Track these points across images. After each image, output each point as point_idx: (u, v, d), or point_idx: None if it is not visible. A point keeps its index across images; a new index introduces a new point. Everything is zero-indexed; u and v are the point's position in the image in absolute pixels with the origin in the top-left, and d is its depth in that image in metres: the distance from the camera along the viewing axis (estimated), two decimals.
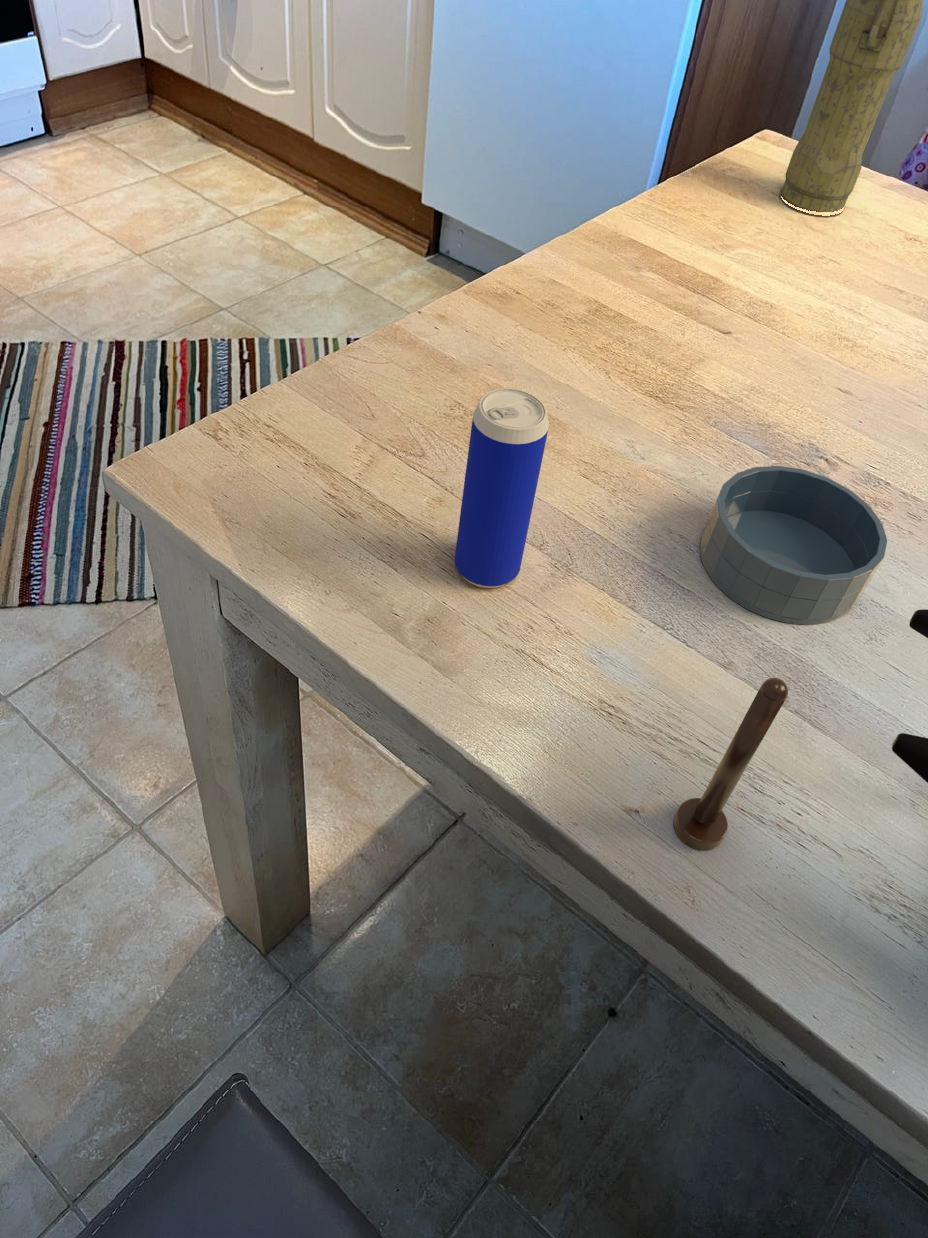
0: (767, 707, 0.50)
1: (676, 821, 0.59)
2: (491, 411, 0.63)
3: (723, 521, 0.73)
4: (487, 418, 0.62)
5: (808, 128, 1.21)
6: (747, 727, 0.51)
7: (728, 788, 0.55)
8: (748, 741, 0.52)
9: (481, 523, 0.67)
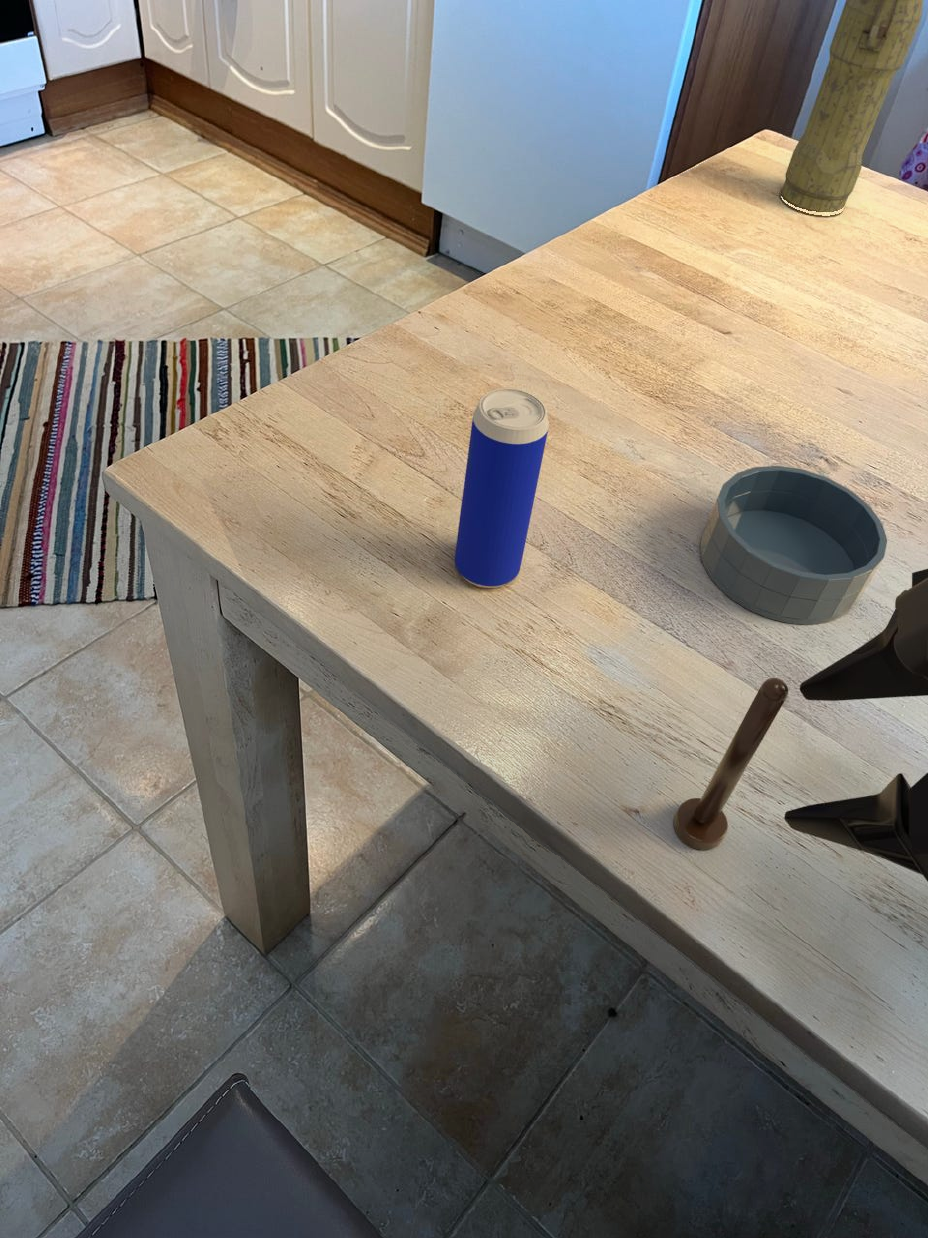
0: (767, 707, 0.50)
1: (676, 821, 0.59)
2: (491, 411, 0.63)
3: (723, 521, 0.73)
4: (487, 418, 0.62)
5: (808, 128, 1.21)
6: (747, 727, 0.51)
7: (728, 788, 0.55)
8: (748, 741, 0.52)
9: (481, 523, 0.67)
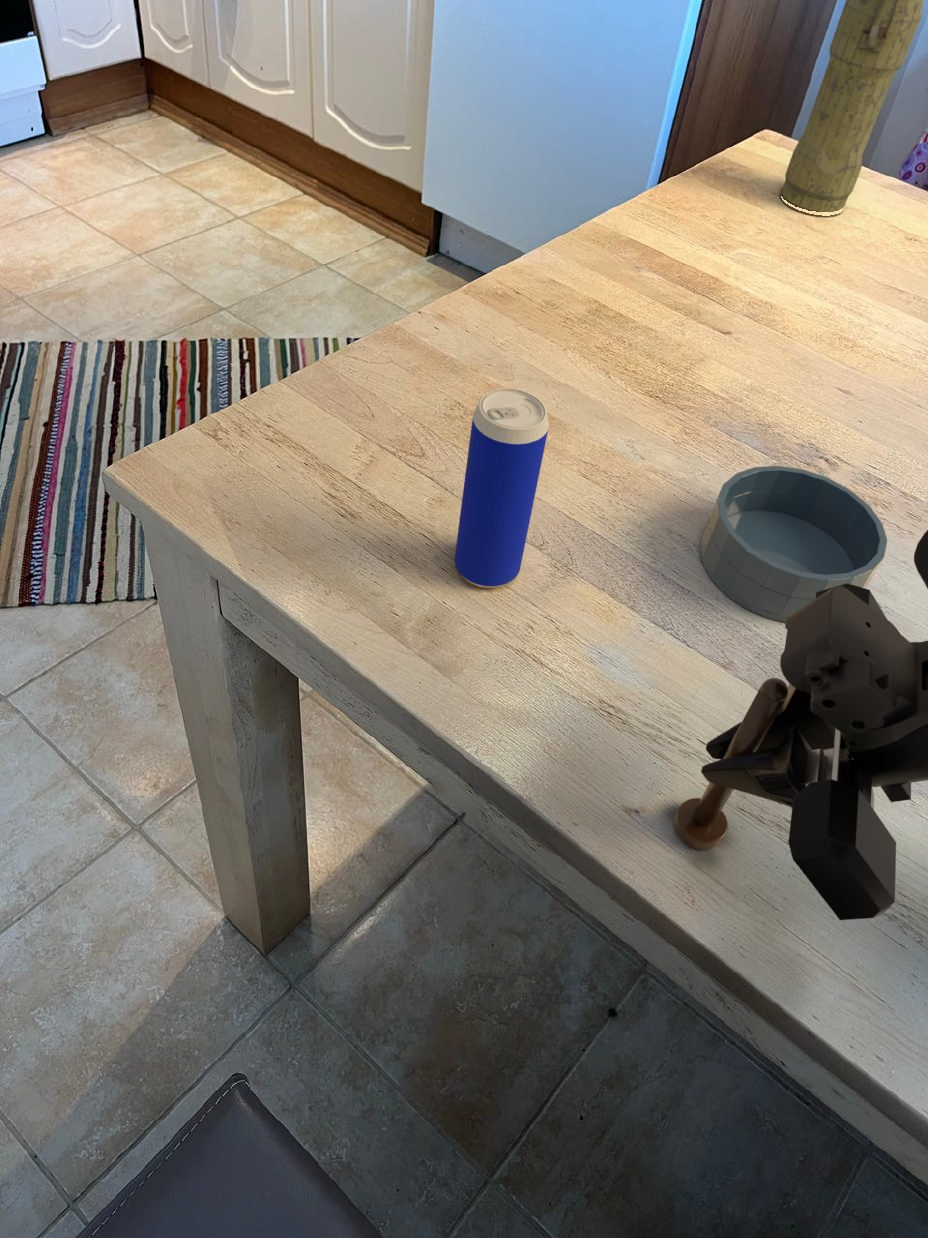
0: (767, 707, 0.50)
1: (676, 821, 0.59)
2: (491, 411, 0.63)
3: (723, 521, 0.73)
4: (487, 418, 0.62)
5: (808, 128, 1.21)
6: (747, 727, 0.51)
7: (728, 788, 0.55)
8: (748, 741, 0.52)
9: (481, 523, 0.67)
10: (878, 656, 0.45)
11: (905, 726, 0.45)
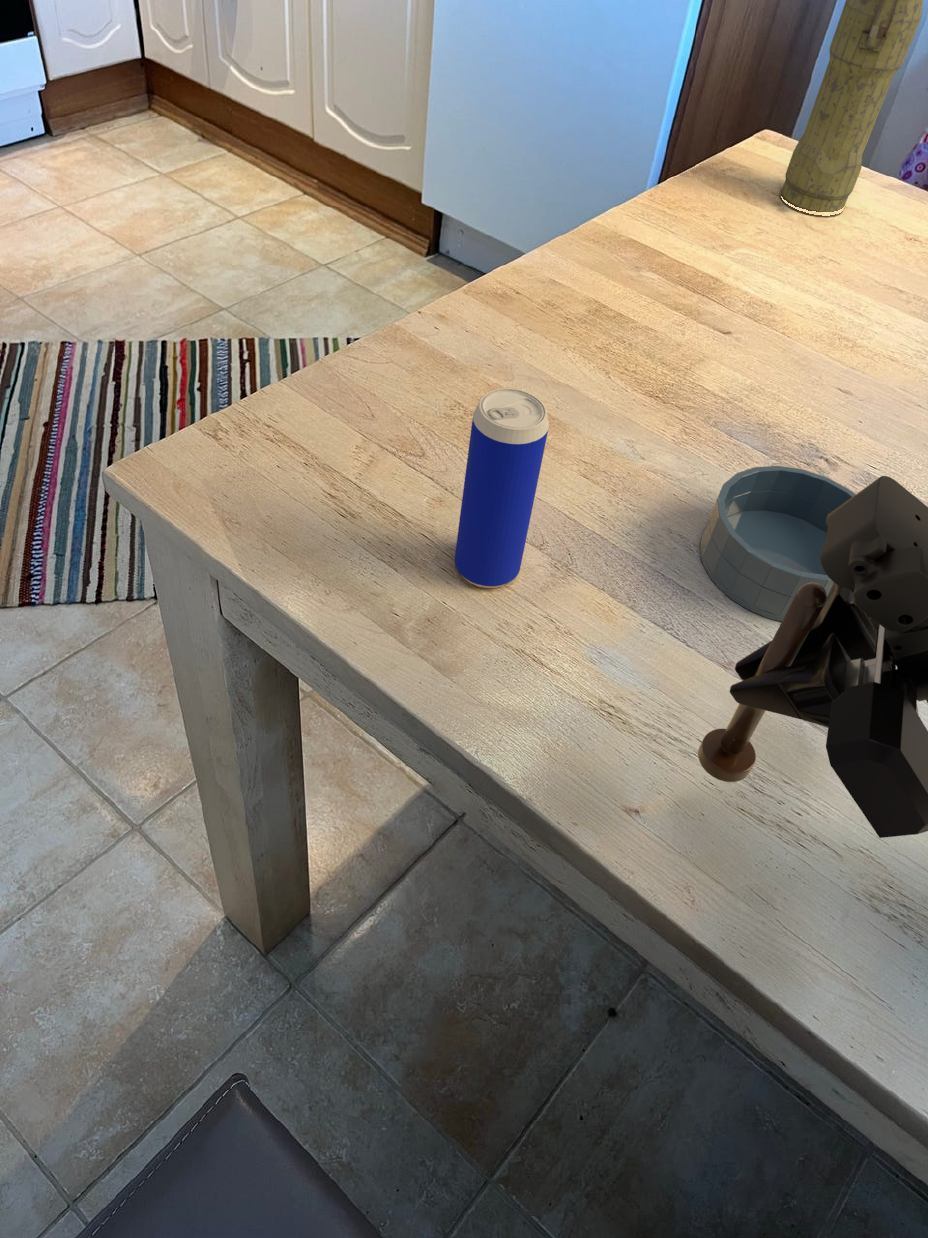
0: (803, 614, 0.46)
1: (701, 751, 0.56)
2: (491, 411, 0.63)
3: (723, 521, 0.73)
4: (487, 418, 0.62)
5: (808, 128, 1.21)
6: (780, 639, 0.48)
7: (758, 711, 0.52)
8: (781, 655, 0.48)
9: (481, 523, 0.67)
10: None
11: None
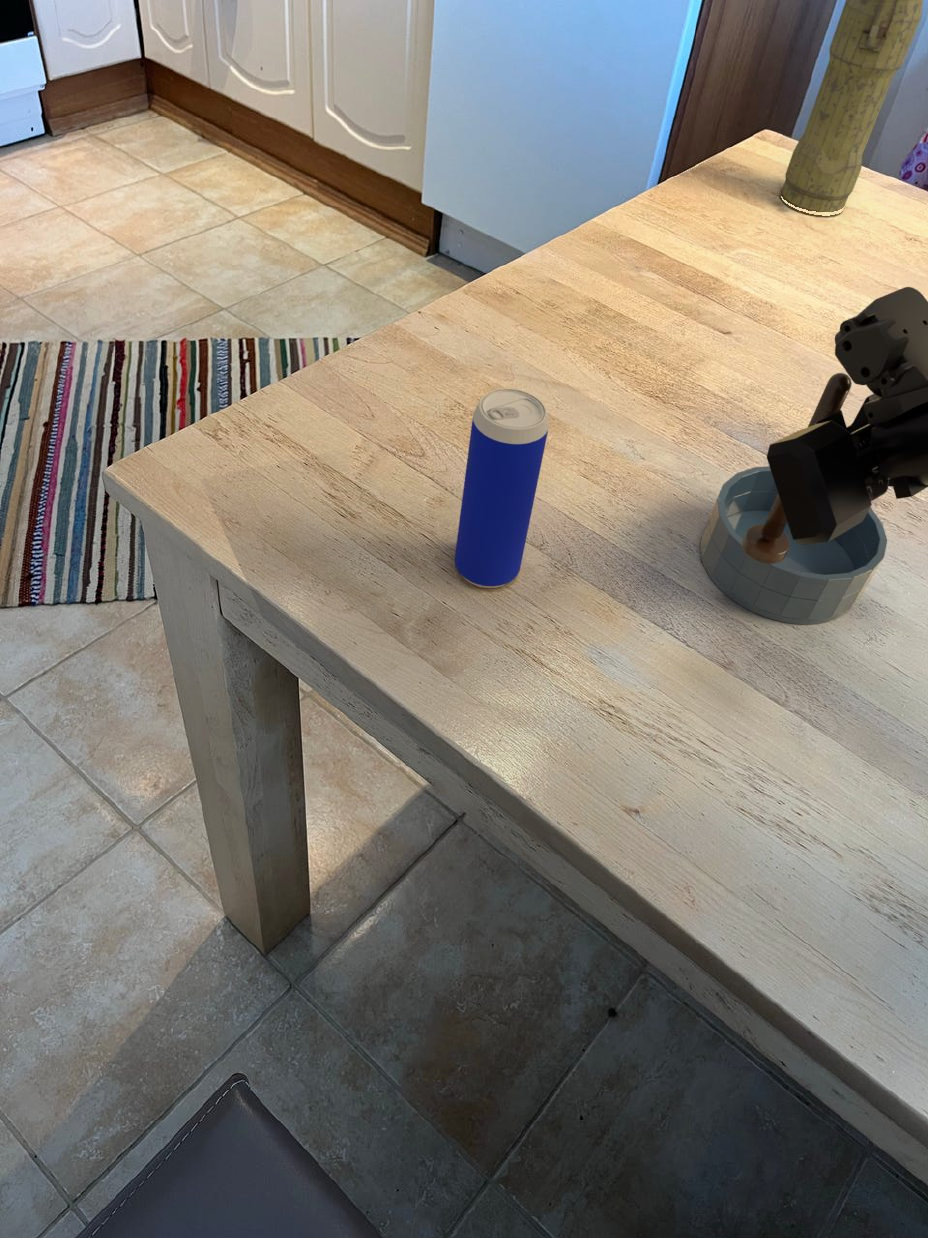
0: (828, 395, 0.59)
1: (746, 532, 0.69)
2: (491, 411, 0.63)
3: (723, 521, 0.73)
4: (487, 418, 0.62)
5: (808, 128, 1.21)
6: (811, 420, 0.61)
7: None
8: None
9: (481, 523, 0.67)
10: (916, 340, 0.53)
11: (912, 398, 0.53)
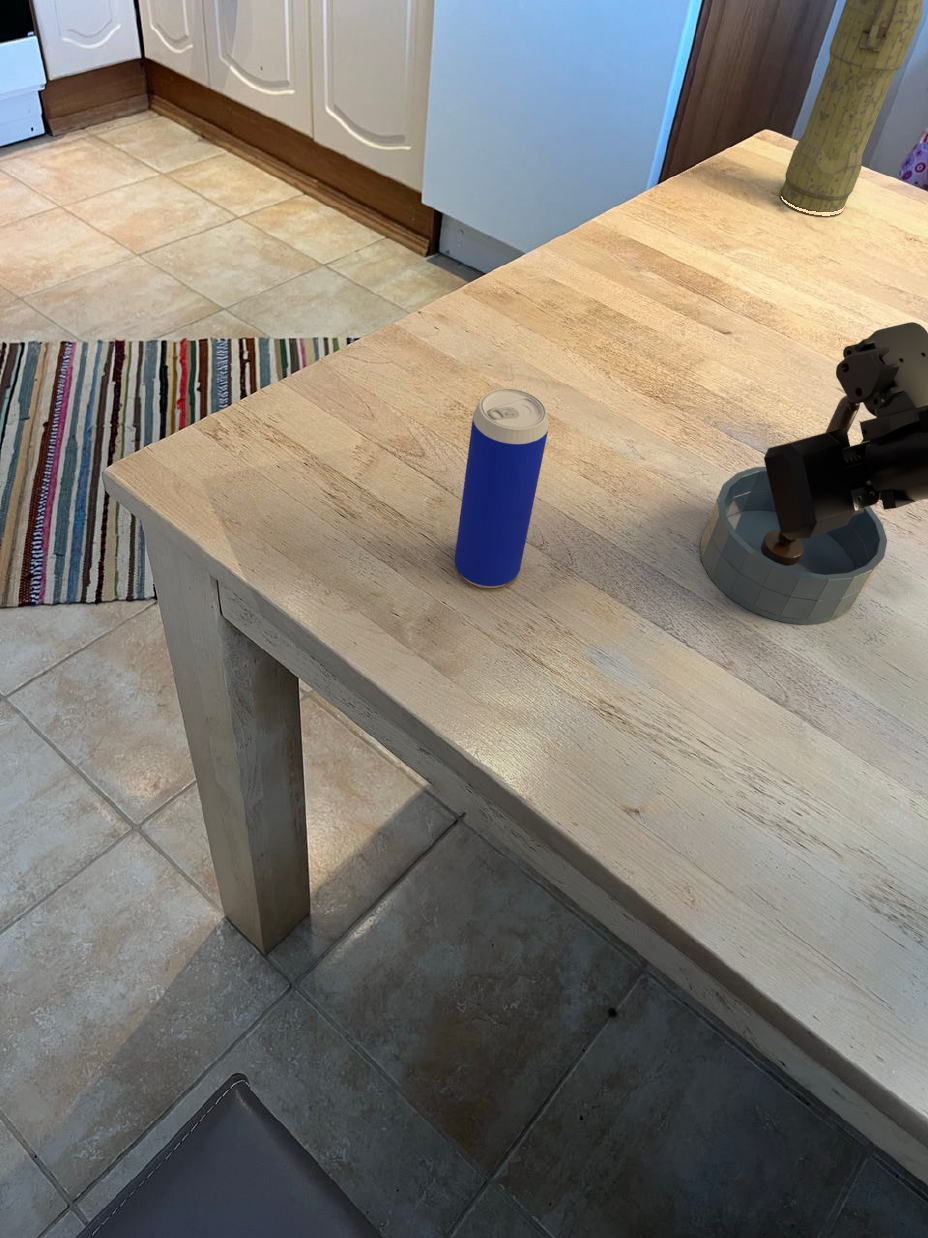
0: (837, 413, 0.66)
1: (765, 536, 0.76)
2: (491, 411, 0.63)
3: (723, 521, 0.73)
4: (487, 418, 0.62)
5: (808, 128, 1.21)
6: None
7: None
8: None
9: (481, 523, 0.67)
10: (911, 368, 0.60)
11: (899, 418, 0.59)
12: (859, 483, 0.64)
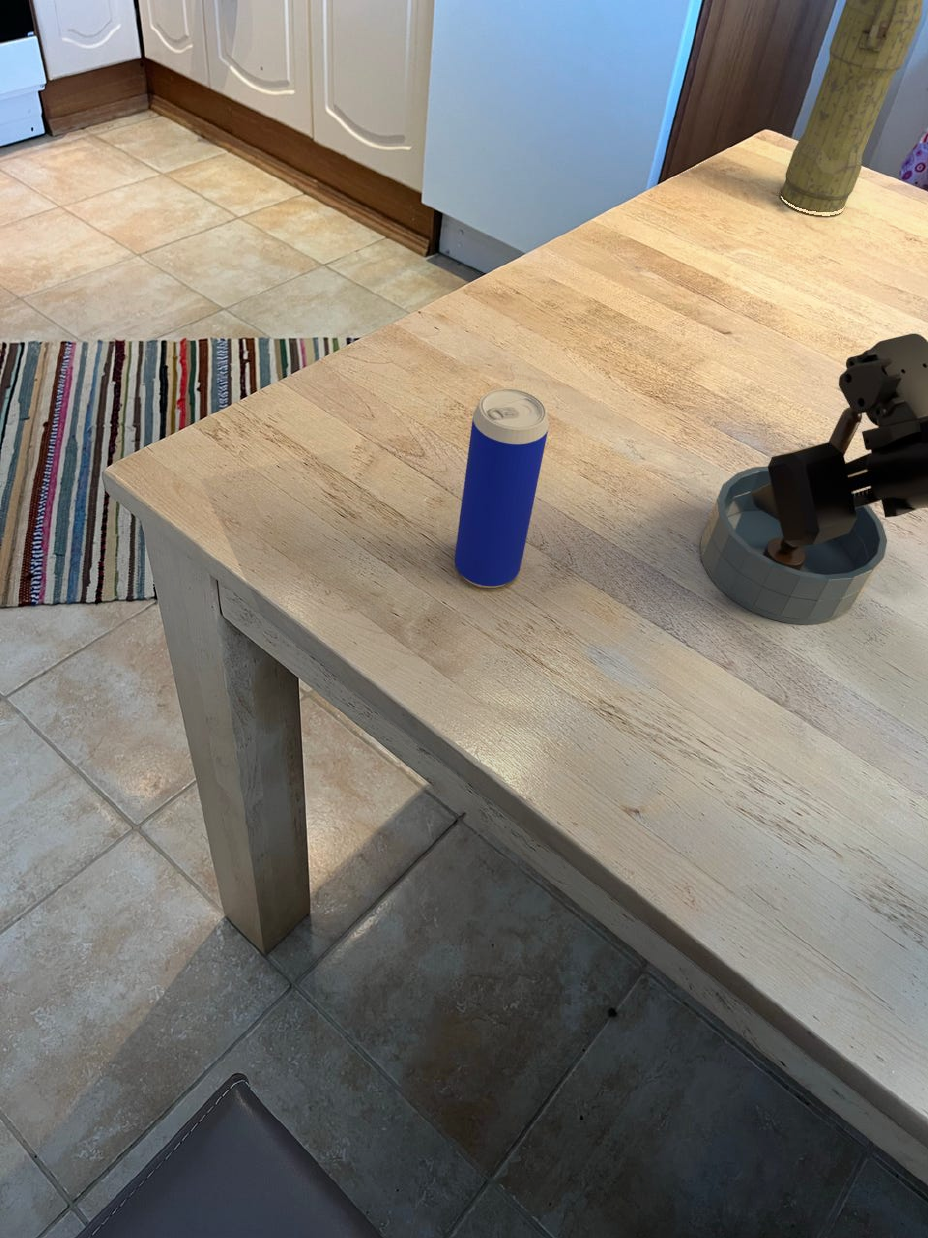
0: (840, 425, 0.67)
1: (768, 543, 0.77)
2: (491, 411, 0.63)
3: (723, 521, 0.73)
4: (487, 418, 0.62)
5: (808, 128, 1.21)
6: None
7: None
8: None
9: (481, 523, 0.67)
10: (912, 379, 0.61)
11: (900, 428, 0.60)
12: None
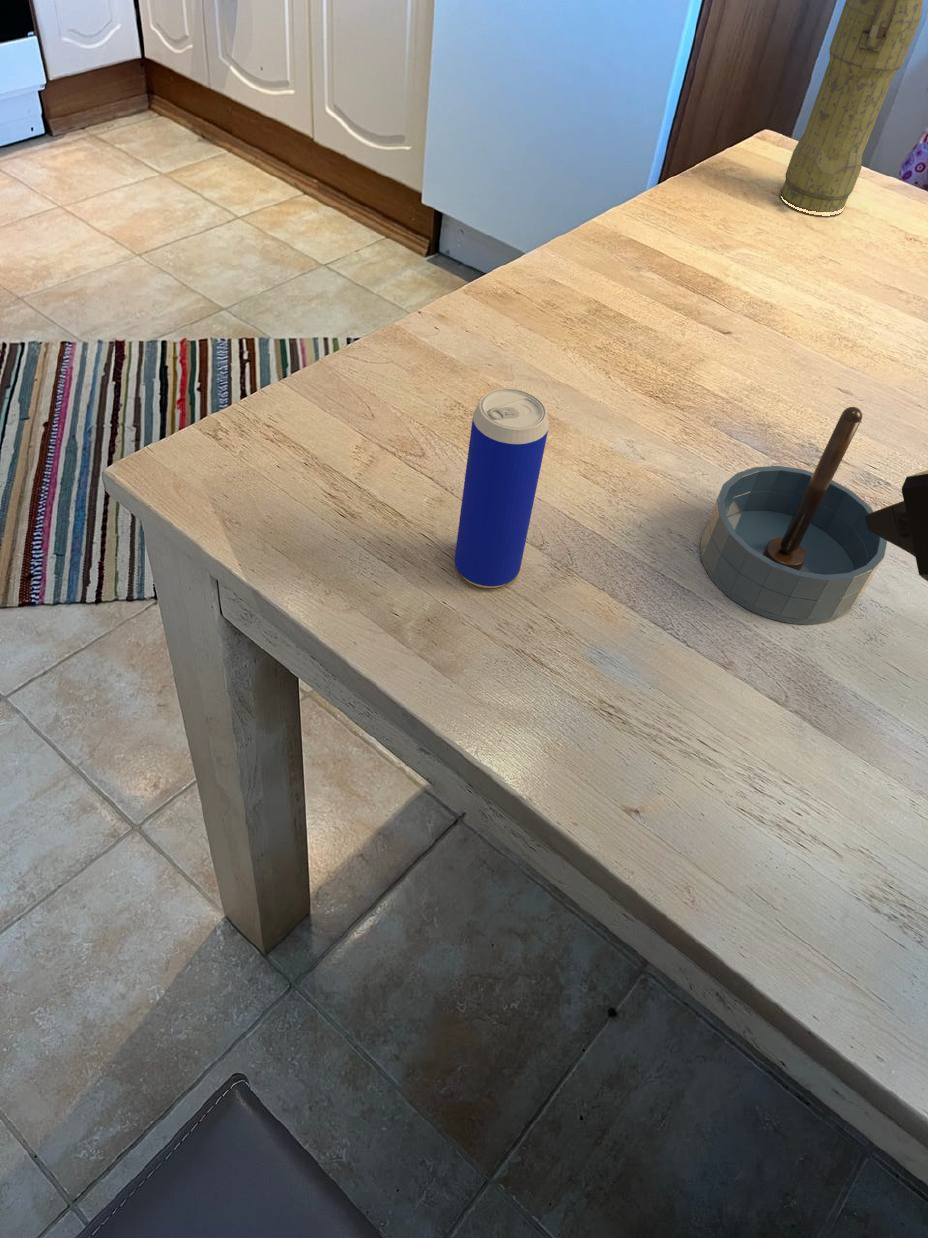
0: (840, 425, 0.67)
1: (768, 543, 0.77)
2: (491, 411, 0.63)
3: (723, 521, 0.73)
4: (487, 418, 0.62)
5: (808, 128, 1.21)
6: (826, 446, 0.69)
7: (804, 510, 0.73)
8: (823, 459, 0.69)
9: (481, 523, 0.67)
10: None
11: None
12: None
